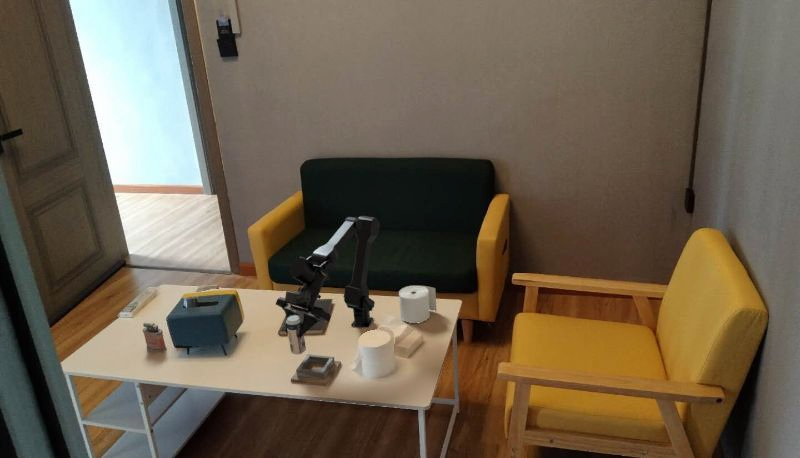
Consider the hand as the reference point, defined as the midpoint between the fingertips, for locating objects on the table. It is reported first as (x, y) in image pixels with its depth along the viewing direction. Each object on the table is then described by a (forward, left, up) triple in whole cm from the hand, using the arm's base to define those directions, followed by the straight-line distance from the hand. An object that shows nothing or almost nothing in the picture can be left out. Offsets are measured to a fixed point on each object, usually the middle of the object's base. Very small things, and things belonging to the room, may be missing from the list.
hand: (292, 335), depth 192 cm
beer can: (-1, 0, -7) cm, 7 cm away
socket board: (0, +6, -13) cm, 15 cm away
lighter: (-4, -56, -13) cm, 58 cm away
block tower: (-25, -52, -14) cm, 59 cm away
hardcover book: (-33, -12, -14) cm, 38 cm away
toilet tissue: (-41, +28, -13) cm, 51 cm away
